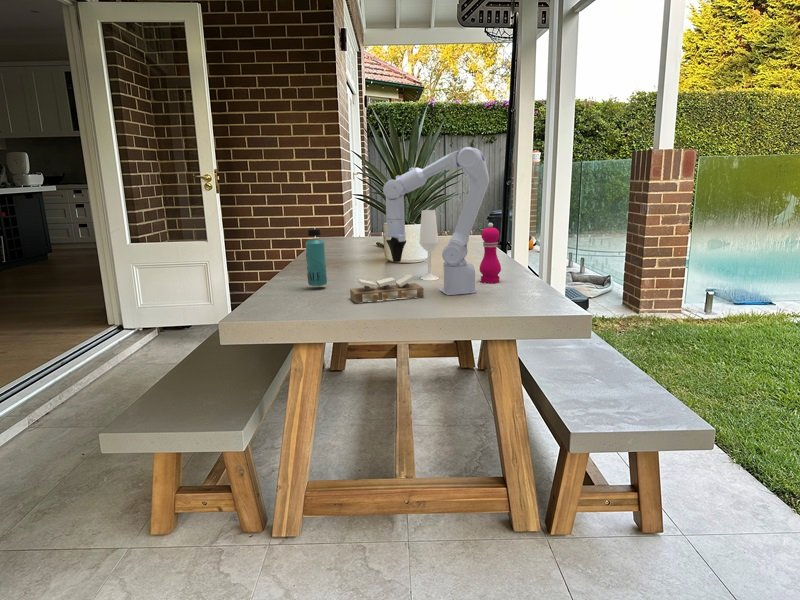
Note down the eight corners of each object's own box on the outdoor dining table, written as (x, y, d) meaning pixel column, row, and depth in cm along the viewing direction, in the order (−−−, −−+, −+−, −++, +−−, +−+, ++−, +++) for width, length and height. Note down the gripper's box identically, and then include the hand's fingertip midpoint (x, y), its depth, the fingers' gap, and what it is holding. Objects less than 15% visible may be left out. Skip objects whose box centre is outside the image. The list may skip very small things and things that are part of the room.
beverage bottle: (325, 285, 189) (322, 227, 184) (329, 289, 183) (325, 229, 178) (306, 287, 187) (302, 228, 182) (309, 291, 181) (305, 230, 176)
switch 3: (410, 276, 171) (408, 273, 170) (414, 279, 167) (412, 276, 166) (396, 284, 170) (394, 281, 170) (400, 287, 166) (398, 284, 166)
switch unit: (415, 292, 174) (415, 279, 173) (424, 297, 166) (423, 284, 165) (350, 298, 169) (349, 284, 168) (355, 304, 161) (355, 290, 160)
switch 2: (392, 280, 169) (391, 277, 169) (395, 282, 165) (395, 279, 165) (376, 284, 168) (376, 281, 168) (380, 286, 164) (379, 283, 164)
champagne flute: (433, 280, 192) (432, 211, 186) (416, 279, 195) (415, 211, 190) (442, 277, 197) (441, 209, 192) (425, 276, 201) (424, 209, 195)
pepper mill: (479, 279, 191) (479, 221, 187) (500, 279, 190) (501, 221, 186) (479, 283, 184) (479, 223, 180) (501, 283, 183) (502, 223, 179)
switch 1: (373, 285, 168) (373, 282, 168) (376, 288, 164) (377, 284, 164) (357, 282, 167) (358, 279, 166) (360, 284, 162) (361, 281, 162)
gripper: (377, 217, 178) (379, 259, 182) (389, 221, 165) (390, 266, 168) (398, 216, 180) (399, 257, 183) (411, 220, 167) (412, 264, 170)
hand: (396, 261), depth 176 cm, fingers closed
